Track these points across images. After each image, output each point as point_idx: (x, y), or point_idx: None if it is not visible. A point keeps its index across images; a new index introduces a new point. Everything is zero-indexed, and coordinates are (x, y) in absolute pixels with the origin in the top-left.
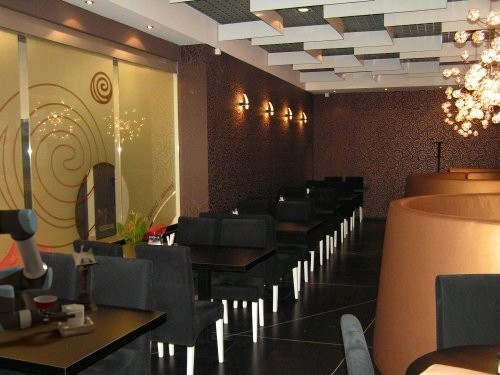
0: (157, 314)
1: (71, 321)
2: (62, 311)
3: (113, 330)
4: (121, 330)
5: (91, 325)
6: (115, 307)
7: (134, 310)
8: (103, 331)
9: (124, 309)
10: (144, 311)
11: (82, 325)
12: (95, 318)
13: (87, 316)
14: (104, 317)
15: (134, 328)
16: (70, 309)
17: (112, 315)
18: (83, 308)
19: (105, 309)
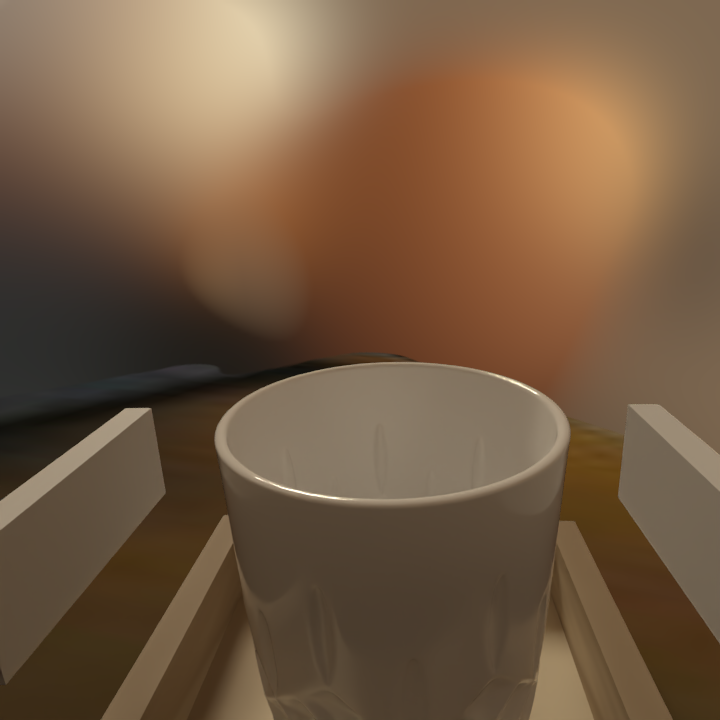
0: (378, 360)
1: (513, 696)
2: (7, 669)
3: (584, 494)
4: (604, 466)
5: (584, 551)
6: (61, 419)
7: (225, 388)
8: (588, 543)
9: (155, 404)
10: (285, 374)
11: (592, 620)
12: (145, 519)
13: (224, 518)
14: (192, 479)
15: (581, 425)
16: (549, 466)
17: (200, 447)
18: (461, 391)
19: (23, 450)
